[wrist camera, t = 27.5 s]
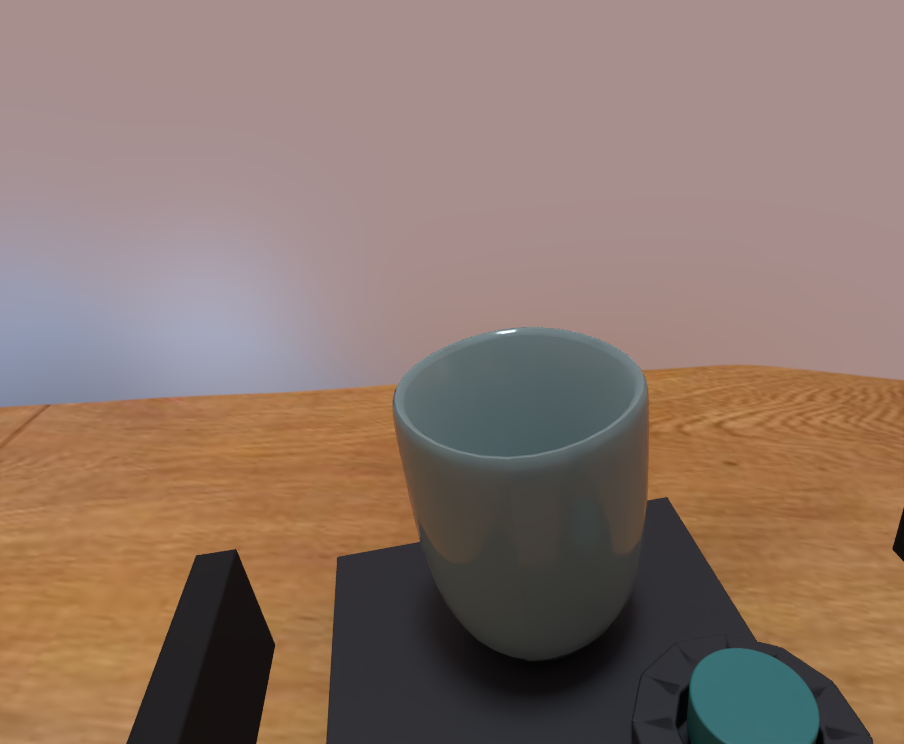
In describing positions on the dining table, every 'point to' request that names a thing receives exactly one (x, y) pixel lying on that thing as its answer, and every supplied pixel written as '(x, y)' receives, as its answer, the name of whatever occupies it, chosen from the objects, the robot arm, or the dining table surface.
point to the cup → (528, 483)
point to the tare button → (749, 701)
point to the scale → (543, 682)
